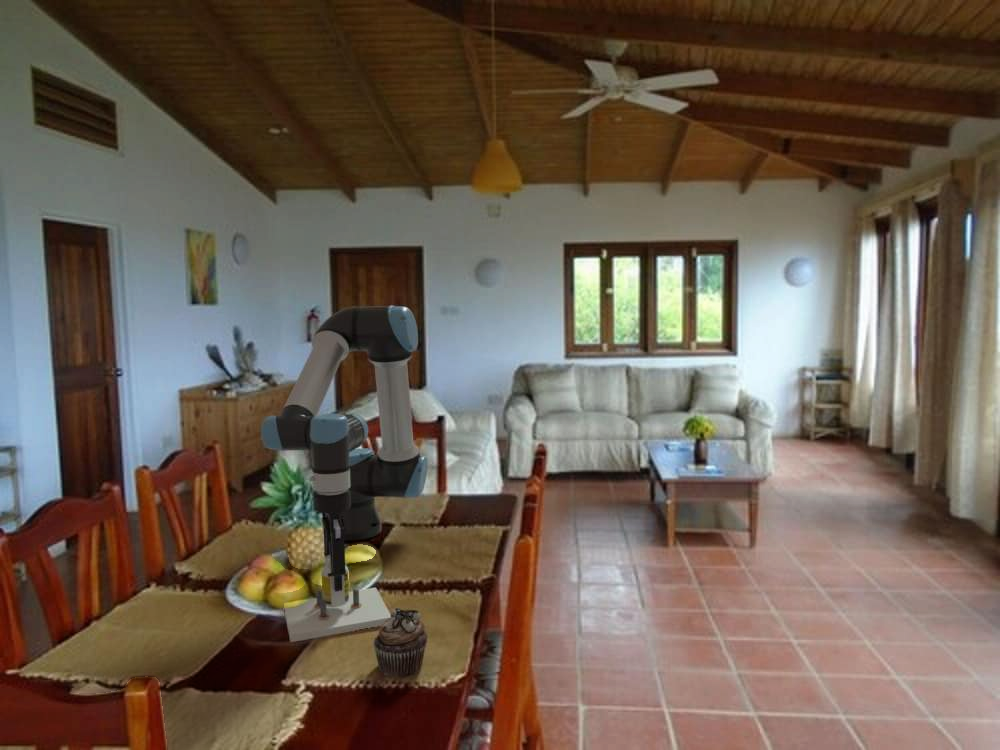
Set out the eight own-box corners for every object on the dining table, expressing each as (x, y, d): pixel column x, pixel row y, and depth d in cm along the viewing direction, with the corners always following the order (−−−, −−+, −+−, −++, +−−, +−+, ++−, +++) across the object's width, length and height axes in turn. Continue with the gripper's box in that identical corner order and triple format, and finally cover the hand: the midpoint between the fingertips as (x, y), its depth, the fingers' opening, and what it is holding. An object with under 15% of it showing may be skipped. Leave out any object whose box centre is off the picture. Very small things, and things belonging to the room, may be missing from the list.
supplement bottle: (342, 608, 147) (341, 562, 146) (318, 606, 148) (316, 560, 147) (353, 597, 152) (351, 553, 151) (329, 595, 153) (327, 551, 152)
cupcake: (379, 652, 135) (378, 601, 134) (430, 653, 135) (429, 602, 133) (368, 680, 125) (367, 625, 124) (423, 680, 125) (422, 626, 124)
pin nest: (283, 608, 154) (282, 586, 153) (376, 593, 161) (375, 572, 161) (290, 642, 139) (289, 617, 139) (392, 624, 146) (391, 600, 146)
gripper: (307, 481, 154) (312, 584, 157) (319, 504, 137) (323, 620, 140) (342, 477, 157) (346, 579, 160) (358, 500, 140) (362, 613, 143)
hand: (335, 598), depth 150 cm, fingers closed on supplement bottle, 5 cm apart
